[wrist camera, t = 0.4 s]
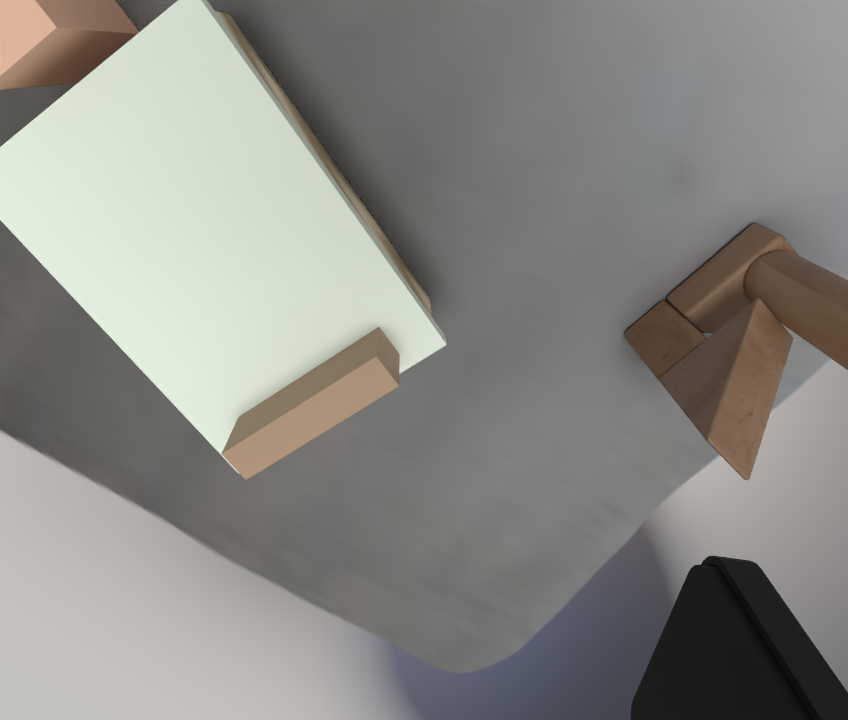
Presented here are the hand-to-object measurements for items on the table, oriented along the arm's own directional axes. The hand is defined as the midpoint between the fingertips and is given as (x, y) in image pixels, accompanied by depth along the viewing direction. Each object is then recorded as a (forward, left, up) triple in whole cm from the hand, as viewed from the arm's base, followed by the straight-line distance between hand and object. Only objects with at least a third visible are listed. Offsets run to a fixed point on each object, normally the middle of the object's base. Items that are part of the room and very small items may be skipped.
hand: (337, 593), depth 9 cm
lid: (-2, -9, -29) cm, 31 cm away
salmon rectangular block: (-16, -9, -35) cm, 40 cm away
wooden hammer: (+18, +13, -36) cm, 42 cm away
